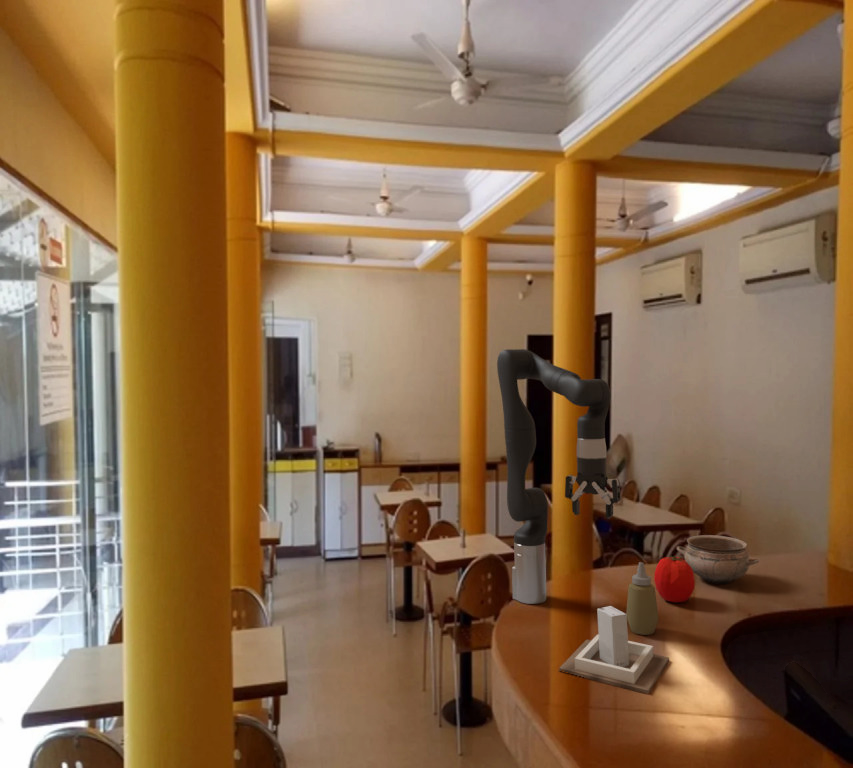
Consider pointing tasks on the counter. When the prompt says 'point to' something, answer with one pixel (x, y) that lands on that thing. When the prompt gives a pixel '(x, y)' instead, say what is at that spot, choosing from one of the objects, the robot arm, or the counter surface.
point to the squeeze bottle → (642, 603)
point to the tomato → (674, 579)
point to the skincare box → (613, 636)
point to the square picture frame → (611, 670)
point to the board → (644, 680)
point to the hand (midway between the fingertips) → (592, 516)
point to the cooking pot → (717, 557)
